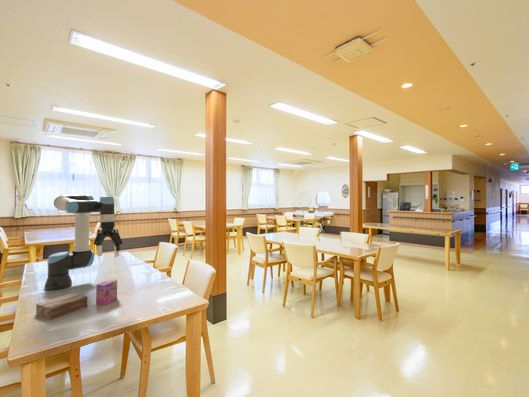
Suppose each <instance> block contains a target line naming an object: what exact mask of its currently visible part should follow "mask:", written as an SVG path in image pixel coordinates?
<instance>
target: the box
mask: <svg viewBox="0 0 529 397" xmlns="http://www.w3.org/2000/svg"><path fill="white" fill-rule="evenodd" d="M95 289H96V291H95V295H96V296H95V305H97V306H98V305H99V306H105V305H107V304H110V303H111V302H113V301H115V300H117V299H118V279H111V278H110V279H107V280H104V281H102V282H99V283H97V284H96V287H95Z"/></svg>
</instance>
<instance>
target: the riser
mask: <svg viewBox="0 0 529 397" xmlns="http://www.w3.org/2000/svg"><path fill="white" fill-rule="evenodd" d="M35 305H36V306H35V308H36V313H35V314H36V315H37V314H38V315H37V316H40V315H41V317H43V318H45V319H49V320H53V318H54V319H56V317H57V318H60V317H62V316H64V315H67V314H70V313H73V312H76V311H79V310H81V309H85V308H87V307H88V296H86V295H83V294H79V293H74V292H72V293H68V294H65V295H61V296H57V297H55V298H51V299H48V300H45V301H41V302H37V303H35Z"/></svg>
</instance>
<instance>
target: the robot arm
mask: <svg viewBox="0 0 529 397" xmlns="http://www.w3.org/2000/svg"><path fill="white" fill-rule="evenodd" d="M115 203H116V202H115V198H114V196H112V195H111V196H109V195H107V196H105V195H104V196H103V195H102V196H100V198H99V200H96V199H94V196H92V195H91V194H62V195H59V196H57V197H55V199H54V200H53V206H54V207H55V208H56V209H57V210H59V211H64V212H65V213H67V214H73V215H74V218H75V219H74V248H73V249H72V250H71V252H69V251H60V252H55V253H53V254H50V255H49V256H48V257H47V278H46V281H45V283H44V288H43V290H46V291H56V290H62V289H65V288H69V287H71V286H72V285H73V280H72V278H71V276H70V271H71V270H77V269H82V268H84V269H85V268H87V267H91V266H92V265H93V264H94V260H95V252H94V251H93V250H92V248H91V247H90V215H91V214H92V213H99V214H100V216H99V217H100V219H99V221H100V226H99V227H100V229H97V231H96V232H97V233H96V235H95V239H94V241H93V245H94V246H96V251H97V254H96V255H97V257H101V256H102V257H103V242H104V240H105V239H106V238H110V239H111V241H112V242H113V244H114V246H113V247H114V248H113V250H114V258H117V257H120V250H121V248H120V247H121V245H123V240H122V239H121V236H120V233H119V229H118V228H115V225H116V223H115V220H116V219H115V217H116V216H115Z"/></svg>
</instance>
